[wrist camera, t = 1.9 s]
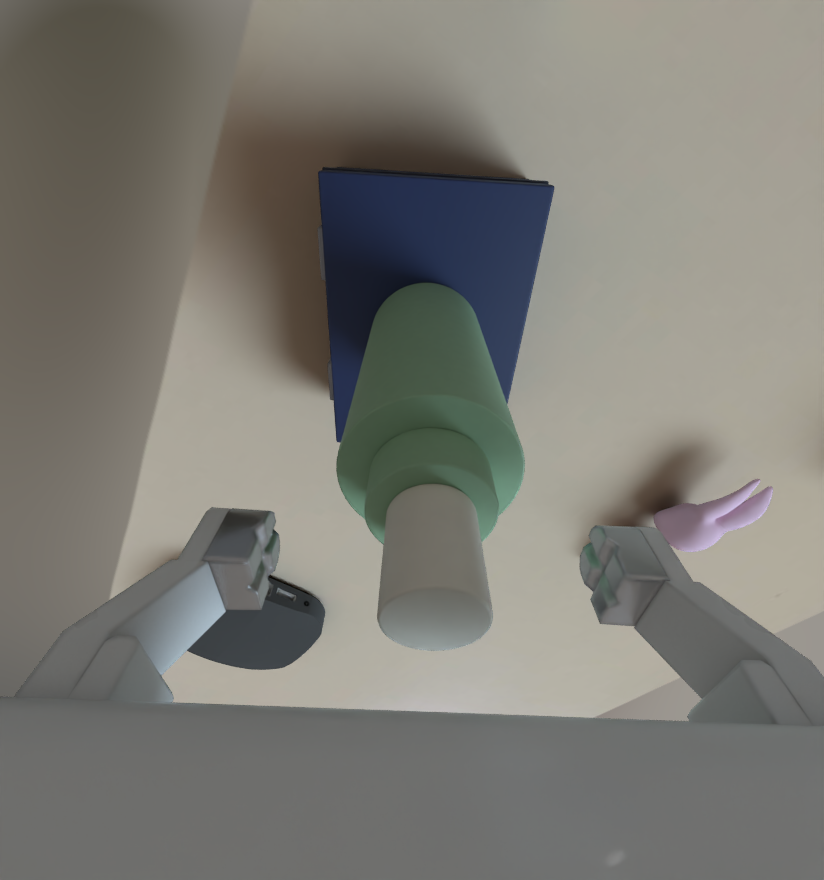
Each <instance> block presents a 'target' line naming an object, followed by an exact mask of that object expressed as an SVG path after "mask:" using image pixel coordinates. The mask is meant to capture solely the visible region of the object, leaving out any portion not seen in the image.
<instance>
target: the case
mask: <svg viewBox="0 0 824 880" xmlns="http://www.w3.org/2000/svg"><path fill="white" fill-rule="evenodd" d="M322 169H323V170H322V171H319V172H318V178H319V192H320V207H321V221H322V225H321V226H319V227H318V241H319V254H320V268H321V279H322V280H326V295H327V309H328V324H329V339H330V353H331V357H330V360H329V362H328V376H329V390H330V400H334V412H335V426H336V441H337V442H341V440H342V436H343V433H344V429H345V425H346V421H347V418H348V414H349V410H350V406H351V403H352V399H353V395H354V391H355V388H356V384H357V380H358V376H359V373H360V369H361V365H362V362H363V358H364V354H365V350H366V347H367V343H368V339H369V335H370V332H371V328H372V324H373V321H374V318H375V315H376V313H377V311H378V309H379V308H380V307H381V305H382V304H383V302H384V301H385V300H386V299H387V298H388V297H389V296H391V295H392V294H393V293H395V292H396V291H398V290H399V289H401V288H404V287H406V286H409V285H412V284H417V283H435V284H440V285H444V286H446V287H449V288H451V289H453V290H454V291H456V292H458V293H459V294H460V295H461V296H463V297H464V298H465V299H466V300H467V301H468V302H469V304H470V305H471V307H472V308H473V310H474V312H475V314H476V317H477V320H478V322H479V325H480V328H481V331H482V334H483V337H484V340H485V343H486V345H487V348H488V351H489V354H490V357H491V360H492V363H493V366H494V369H495V371H496V374H497V377H498V380H499V383H500V386H501V389H502V392H503V394H504V397H505V400H506V403H508V399H509V394H510V390H511V385H512V380H513V376H514V371H515V367H516V362H517V357H518V353H519V348H520V344H521V339H522V335H523V330H524V325H525V321H526V316H527V312H528V307H529V302H530V298H531V293H532V289H533V284H534V279H535V275H536V270H537V266H538V261H539V257H540V252H541V247H542V243H543V238H544V234H545V229H546V224H547V220H548V215H549V211H550V206H551V201H552V197H553V192H554V186H553V185H549V184H548V181H536V180H529V179H518V178H502V177H487V176H471V175H455V174H439V173H423V172H408V171H392V170H376V169H360V168H344V167H337V168H330V167H323V168H322Z"/></svg>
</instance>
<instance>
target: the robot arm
mask: <svg viewBox="0 0 824 880" xmlns="http://www.w3.org/2000/svg"><path fill="white" fill-rule="evenodd" d="M275 523H276V519H275V515H274V512H272V511H262V510H248V509H234V508H232V509H228V508H214V507H212V508H210V509H209V510H208V511H207V512H206V513H205V515H204V516H203V518H202V520H201V521H200V523H199V525H198V526H197V528H196V530H195V531H194V533H193V535H192V536H191V538H190V540H189V541H188V543H187V545H186V546H185V548H184V550H183V551H182V553H181V555H180V556H179V558H178V560H170V561H168V562H167V563H165V564H164V565H162V566H161V567H159V568H158V569H156V570H155V571H153V572H152V573H150V574H149V575H147V576H145V577H144V578H142V579H141V580H139V581H138V582H136V583H135V584H133V585H132V586H130V587H129V588H127V589H126V590H124V591H123V592H121V593H120V594H118V595H117V596H115V597H114V598H112V599H111V600H109V601H108V602H106V603H105V604H103V605H102V606H100V607H99V608H97V609H96V610H94V611H93V612H91V613H90V614H88V615H86V616H85V617H83V618H82V619H81V620H79V621H78V622H76V623H74V624H73V625H71V626H70V627H68V628H67V629H65V630H64V631H63V632H62V633H61V634H60V636H59V637H58V639H57V640H56V641H55V642H54V644H53V645H52V647H51V648H50V649H49V650H48V652H47V653H46V655H45V656H44V657H43V658H42V660H41V661H40V663H39V664H38V665H37V667H36V668H35V669H34V670H33V672H32V673H31V674H30V676H29V677H28V678H27V680H26V681H25V683H24V684H23V685H22V686H21V688H20V689H19V690H18V692H17V693H16V694H15V696H14V697H3V696H0V880H824V677H823V676H822V674H821V673H820V672H819V670H818V669H817V668H816V667H815V665H814V664H813V663H812V662H811V661H810V660H809V659H808V658H806V657H805V656H803V655H802V654H800V653H799V652H798V651H796V650H795V649H793V648H792V647H791V646H789V645H788V644H786V643H785V642H784V641H782V640H781V639H779V638H778V637H776V636H775V635H774V634H772V633H771V632H769V631H768V630H767V629H765V628H764V627H762V626H761V625H759V624H758V623H757V622H755V621H754V620H752V619H751V618H750V617H748V616H747V615H745V614H744V613H742V612H741V611H740V610H738V609H737V608H735V607H734V606H733V605H731V604H730V603H728V602H727V601H726V600H724V599H723V598H721V597H720V596H718V595H717V594H716V593H714V592H713V591H711V590H710V589H709V588H707V587H706V586H704V585H703V584H701V583H700V582H693V580H692V579H691V577H690V576H689V574H688V573H687V571H686V570H685V568H684V567H683V565H682V563H681V562H680V560H679V559H678V557H677V556H676V554H675V553H674V551H673V550H672V548H671V547H670V545H669V544H668V542H667V541H666V539H665V537H664V536H663V534H662V533H661V532H660V531H659V530H658V529H657V528H651V527H625V526H595V527H593V528H592V529H591V531H590V534H589V538H590V540H591V543H589V544H588V545H586V546H585V547H583V550H582V552H581V555H580V572H581V576H582V579H583V581H584V584H585V585H586V586H587V587H589V588H590V589H591V590H592V591H593V594H592V597H591V599H590V600H591V602H592V605H593V607H594V610H595V612H596V615H597V617H598V620H599V622H600V624H610V625H625V626H635V627H634V628H635V629H636V630H637V631H638V633H639V634H640V635H641V636H642V637H643V638H644V639H645V640H646V641H647V642H648V643H649V644H650V645H651V646H652V647H653V648H654V649H655V650H656V651H657V652H658V653H659V654H660V656H661V657H662V658H663V659H664V660H665V661H666V662H667V663H668V664H669V665H670V666H671V667H672V668H673V669H674V670H675V671H676V672H677V673H678V674H679V675H680V676H681V678H682V679H683V680H684V681H685V682H686V683H687V684H688V685H689V686H690V687H691V688H692V689H693V690H694V691H695V692H696V693H697V694H698V695H699V696H700V697H701V698H702V700H701V701H700V702H699V703H698V704H697V705H696V706H695V707H694V708H693V709H692V710H691V711H690V712H689V714H688V716H687V717H688V719H689V721H665V720H637V719H610V718H584V717H557V716H529V715H502V714H475V713H448V712H420V711H392V710H365V709H337V708H309V707H281V706H254V705H226V704H198V703H172V702H173V699H174V697H173V694H172V692H171V690H170V689H169V687H168V686H167V684H166V683H165V681H164V679H163V678H162V676H161V675H162V674H163V673H164V672H165V671H166V670H167V669H168V668H169V667H170V666H171V665H172V664H173V663H174V662H175V661H176V660H177V659H178V658H179V657H180V656H182V655H183V654H184V653H185V652H186V651H187V650H188V649H189V648H190V647H191V646H192V645H193V644H194V643H195V642H196V641H197V640H198V639H199V638H200V637H201V636H202V635H203V634H204V633H205V632H206V631H207V630H208V629H209V628H210V627H211V626H212V625H213V624H214V623H215V622H216V621H217V620H218V619H219V618H220V617H221V616H222V615H223V614H224V613H225V612H226V610H261V609H262V606H263V603H264V601H265V598H266V595H267V592H268V589H269V581H268V576H269V575H270V574H271V573H273V572H274V571H275V569H276V566H277V563H278V558H279V552H280V539H279V534H278V533H277V532H276V531H275V530H274V526H275Z"/></svg>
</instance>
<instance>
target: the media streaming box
mask: <svg viewBox="0 0 824 880" xmlns="http://www.w3.org/2000/svg"><path fill="white" fill-rule="evenodd" d="M268 581H269V589H268V592H267V595H266V598H265V601H264V603H263V606H262V609H261V610H226V612H225V613H224V614H223V615H222V616H221V617H220V618H219V619H218V620H217V621H216V622H215V623H214V624H213V625H212V626H211V627H210V628H209V629H208V630H207V631H206V632H205V633H204V634H203V635H202V636H201V637H200V638H199V639H198V640H197V641H196V642H195V643H194V644H193V645H192V646H191V647H190V648H189V649H188V650H187V651H189V652H191V653H193V654H196V655H198V656H200V657H203V658H206V659H209V660H212V661H215V662H218V663H222V664H225V665H229V666H234V667H239V668H246V669H257V670H266V669H278V668H283V667H285V666H287V665H289V664H291V663H293V662H294V661H295V660H297V659H298V658H299V657H301V656H302V655H303V654H304V653H305V652H306V651H307V650H308V649H309V648H310V647H311V646H312V645H313V644H314V643H315V641H316V640H317V639H318V638H319V637H320V635H321V632H322V627H323V622H324V617H325V609H324V607H323V605H322V604H321V603H320V601H318V600H317V599H316V598H314V597H313V596H311V595H308V594H306V593H304V592H302V591H299V590H297V589H295V588H293V587H290V586H288V585H285V584H283V583H281V582H278V581H276V580H273V579H271V578H268Z"/></svg>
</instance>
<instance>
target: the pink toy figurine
mask: <svg viewBox="0 0 824 880" xmlns="http://www.w3.org/2000/svg"><path fill="white" fill-rule="evenodd" d="M759 483H760V479H755V480H753V481H751V482H749V483H748V484H746V485H745V486H744V487H742V488H741V489H739V490H737V491H736V492H734V493H731V494H729V495H727V496H725V497H722V498H720V499H716V500H713V501H710V502H706V503H703V504H699V505H696V504H691V503H683V504H679V505H676V506H674V507H671V508H668V509H664V510H661V511H659V512H657V513H656V514H655V515H654V523H655V525H656V527H657V528H658V530H659V531H660V532H661V533H662V534H663V536H664V537H665V539H666V541H667V542H668V544H670V545H671V546H673V547H674V548H676V549H678V550H681V551H685V552H695V551H700V550H704V549H706V548H708V547H710V546H712V545H713V544H715V543H716V542H717V541H718V540H719V539H720V538H721V536H722V535H723V534H724V533H725V532H727V531H730V530H735V529H739V528H741V527H744V526H746V525H748V524H750V523H752V522H754V521H755V520H757V519H758V518H759V517H761V516H762V515H763V514H764V512H765V511H766V509H767V508H768V506H769V503H770V501H771V497H772V493H773V488H772V487H771V486H769V487H767V488H765V489H764V490H762V491H761V492H759V493H758V494H756V495H754V496H753V497H751V498H749V499H748V500H746V499H747V498H748V497H749V495H750V494H751V493H752V491H753V490H754V489H755V488H756V486H757V485H758V484H759ZM745 500H746V501H745ZM744 501H745V502H744Z"/></svg>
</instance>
